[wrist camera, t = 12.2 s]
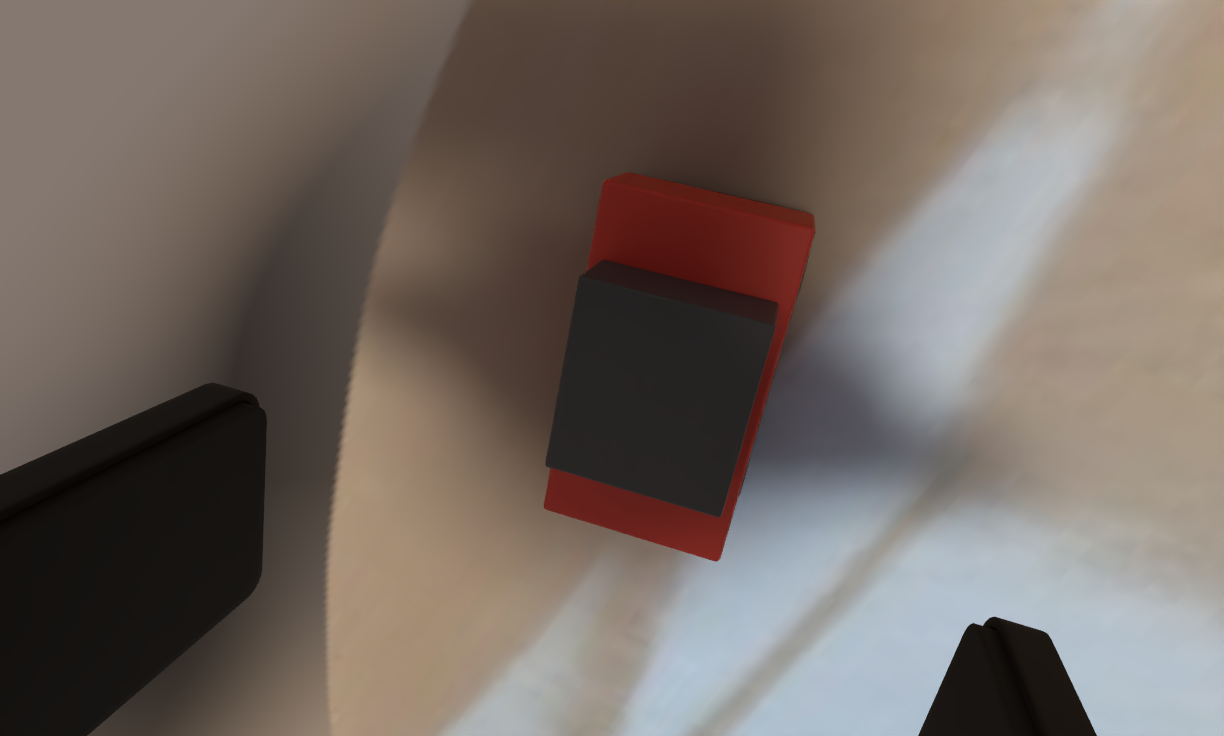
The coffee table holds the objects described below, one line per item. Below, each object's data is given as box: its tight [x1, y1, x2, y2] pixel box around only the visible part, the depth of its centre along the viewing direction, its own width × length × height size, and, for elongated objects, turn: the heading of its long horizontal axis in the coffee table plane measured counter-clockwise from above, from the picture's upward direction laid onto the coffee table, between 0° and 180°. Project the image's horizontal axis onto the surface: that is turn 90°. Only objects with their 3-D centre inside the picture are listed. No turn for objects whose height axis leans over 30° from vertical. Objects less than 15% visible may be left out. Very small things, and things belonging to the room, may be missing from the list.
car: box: [544, 172, 815, 561], centre depth 17 cm, size 8×5×5 cm, turn 169°
